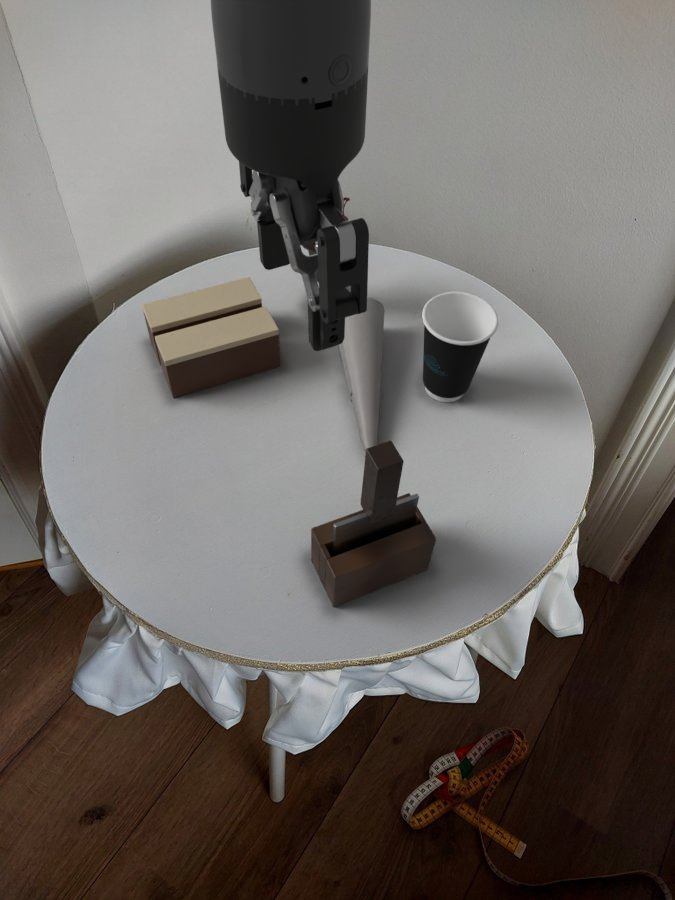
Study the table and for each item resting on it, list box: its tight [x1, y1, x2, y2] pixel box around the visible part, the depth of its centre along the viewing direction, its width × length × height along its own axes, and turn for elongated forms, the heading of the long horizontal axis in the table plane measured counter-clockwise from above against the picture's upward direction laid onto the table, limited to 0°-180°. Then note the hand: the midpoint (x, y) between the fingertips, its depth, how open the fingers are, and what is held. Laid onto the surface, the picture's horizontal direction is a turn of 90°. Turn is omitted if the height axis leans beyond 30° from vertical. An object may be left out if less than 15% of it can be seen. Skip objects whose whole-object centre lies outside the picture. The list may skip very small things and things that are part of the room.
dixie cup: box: [421, 291, 499, 403], centre depth 80 cm, size 8×8×11 cm
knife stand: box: [310, 492, 437, 608], centre depth 68 cm, size 10×5×6 cm, turn 114°
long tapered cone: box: [337, 297, 386, 453], centre depth 82 cm, size 6×6×19 cm
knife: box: [332, 440, 420, 557], centre depth 63 cm, size 8×2×18 cm, turn 114°
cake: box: [141, 276, 281, 399], centre depth 84 cm, size 13×10×6 cm
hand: (300, 302), depth 49 cm, fingers open, 8 cm apart
